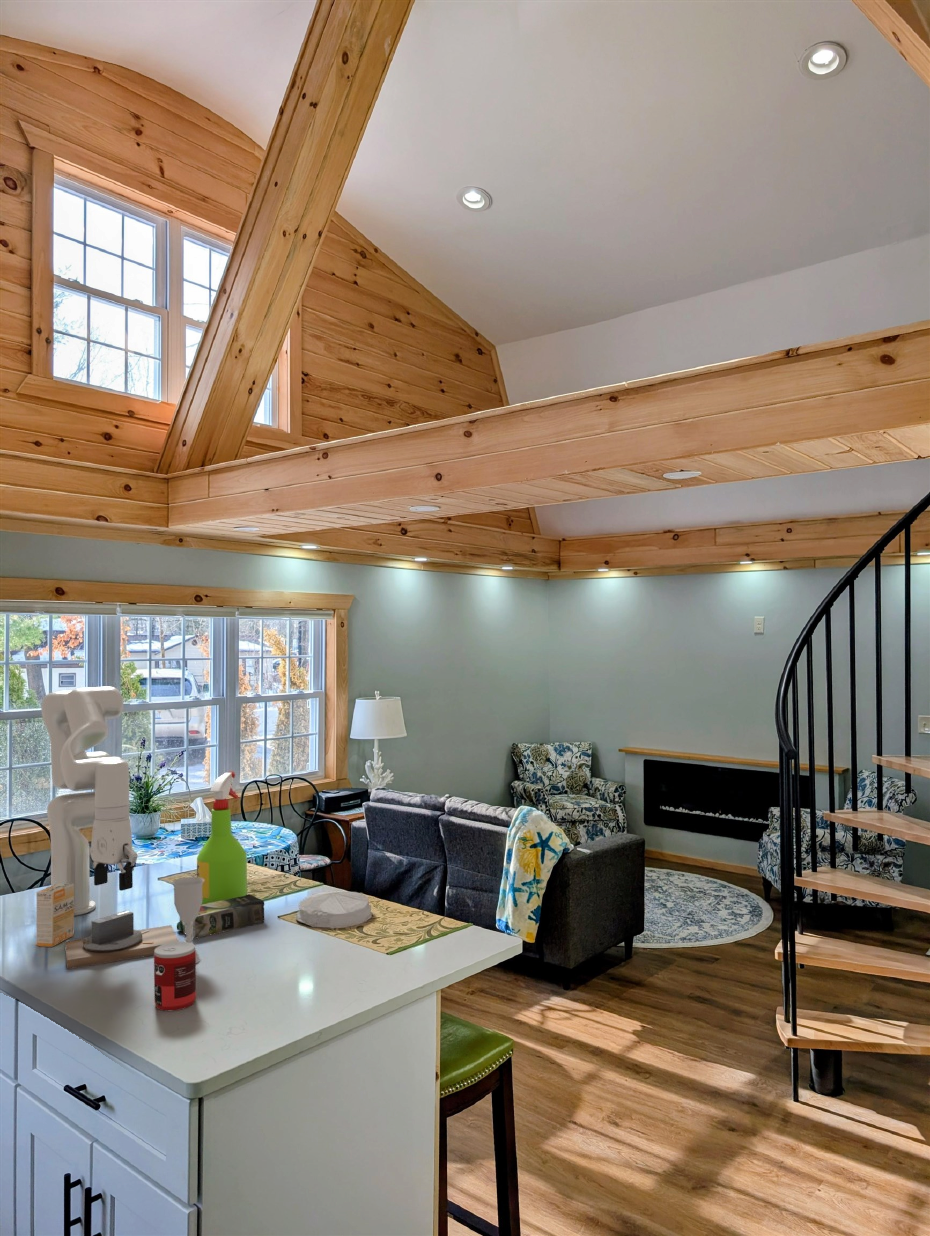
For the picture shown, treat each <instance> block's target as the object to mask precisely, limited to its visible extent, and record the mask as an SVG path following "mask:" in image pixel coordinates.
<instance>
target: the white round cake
mask: <svg viewBox="0 0 930 1236" xmlns="http://www.w3.org/2000/svg"><path fill="white" fill-rule="evenodd" d="M298 909H299V911H298V912H296V914H295V917H294V918H295V919H296V920H297V921H298V922H300V923H303V924H305V925H308V926H311V927H312V928H323V929H335V928H336V929H340V928H341V929H342V928H343V929H344V928H348V927H353V926H357V925H361V924H363V923H366V922H367V921H368V920H370V919H371V918H372V916H373V915H372V905H371V904H370V898H368V897H367V896H366V895H365V894H363V893H360V892H357V891H345V890H343V891H342V890H340V891H338V890H337V891H336V890H333V891H323V892H319V893H314V894H311V895H309V896H307V897H304V898H303V899H301V900H300V901H299V902H298Z"/></svg>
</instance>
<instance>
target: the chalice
mask: <svg viewBox="0 0 930 1236" xmlns="http://www.w3.org/2000/svg"><path fill="white" fill-rule="evenodd" d="M203 882H204V879H203V878H199V877H197V876H192V877H191V876H188V877H187V876H186V877H180V878H177V879H174V880H172V881H171V884H172V886H173V891H174V892H173V893H174V894H173V896H174V897H173V898H174V899H173V901H174V902H173V903H174V907H175V910H176V912H177V914H178V916H179V919H180V918H181V920H182V922H185V923H186V926H187V927H186V930H185V932H186V934H185V935H186V936H185V939H184V942H189V943H192V941H193V940H194V939H193V938H191V932H192V929H191V922H193V921H195V919H196V917H197V914H198V912H199V910H200V907H201V904H202V884H203ZM195 953H196V964H197V963H199V962H200V961H201V960H202V959H201V958H200V955H199V953H198V951H197V950H196V949H195Z"/></svg>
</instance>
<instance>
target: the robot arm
mask: <svg viewBox="0 0 930 1236" xmlns="http://www.w3.org/2000/svg"><path fill="white" fill-rule="evenodd" d="M40 710H41V716H42V721H43V724H44V726H45V729H46V731H47V733H48V736H49V741H50V760H51V761H50V764H51V778H52V783H53V785H54V787H56V789H60V790H70V791H72V793H67V794H62V795H58V796H55V797H53V798H52V799H51V800H50V801H49V803H48V805H47V810H46V814H47V815H46V816H47V820H48V827H49V832H50V833H49V834H50V865H51V866H50V876H51V877H50V881H51V882H50V887H51V886H53V885H56V884H58V883H70V884H74V917H76V916H81V915H85V914H87V913H90V912H93V910H95V909H96V902H95V901H94V900H90V898H91V897H90V860H91V862H92V868H93V880H94V881H93V884H94V886H101V885H106V884H107V883H108V865H111V866H115V865H117V867H118V869H119V871H120V872H119V873H118V890H119V891H121V892H122V891H126V890H129V889H132V888H133V887H134V886H133V885H134V884H133V881H134V880H133V872H134V870H135V866H136V865H137V860H138V857H139V855H138V853H137V852H136V851H135V850H134V849H133V837H132V829H131V828H132V826H131V821H130V768H129V763H128V762H127V761H126V760H124V759H123V758H122V757H120V756H111V754H109V753H108V752H106V751H88V750H90V749H92V748H94V747H96V746H97V745H100V744H101V743H102V742H103V741H104V740H105V739H106V738H107V736H108V734H109V728H108V723H107V721H106V720H110V719H111V720H112V719H117V718H120V717H121V715H122V713H123V711H124V698H123V696H122V694H121V691H120V690H119V689H118V688H117V687H114V686H96V687H94V686H92V687H91V686H90V687H79V688H75V689H72V690H69V689H68V690H60V691H59V690H58V691H54V692H50V693H47V694H46V695H45V696H43V698H42V700H41V709H40ZM86 751H88V752H86ZM84 791H85V792H84ZM73 792H74V793H73ZM90 827H92V832H91V844H90V843H89V841H88V839H87V838H86V837H85V836H84V835H83V833H81V831H80V829H84V828H90ZM90 845H91V846H90ZM124 864H125V865H124Z"/></svg>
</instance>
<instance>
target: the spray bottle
mask: <svg viewBox="0 0 930 1236" xmlns="http://www.w3.org/2000/svg"><path fill="white" fill-rule="evenodd" d="M235 778H236V773H235V772H234V771H231V770H230V771H227V772H224V773H223V774H222V775H220V776H218V777H217V778H216V779H215V780H214V782H213V784H212V786H211V788H210V790H209V792H211V793H213V806H212V807H213V808H212V809H211V817H210V819H211V820H210V821H211V822H210V823H211V824H210V825H211V826H210V827H211V828H210V829H211V830H210V835H211V836H210V837H209V838H208V839H207V841H206V842H205V843H204V844H203V845H202V848H201V850H200V851H199V853H198V854H197V857H196V877H199V878H203V879H204V882H203V884H202V904H201V905H204V904H207V903H212V902H217V901H222V900H226V899H231V898H237V897H242V896H245V895H248V867H247V866H248V858H247V857H248V855H247V852H246V851H245V848H244V847H243V845H242V844H241V843H240V841H239V840H238V839H237V838H236V837H235V836H234V835H233V833H232V817H231V814H232V813H231V811H232V810H231V807H229V800H228V799H227V798H228V797H229V796H230V797H231V798H233V799H238V800H239V799H240V796H238V794H237V792H236V791H234V790H233V783H234V779H235Z"/></svg>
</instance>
